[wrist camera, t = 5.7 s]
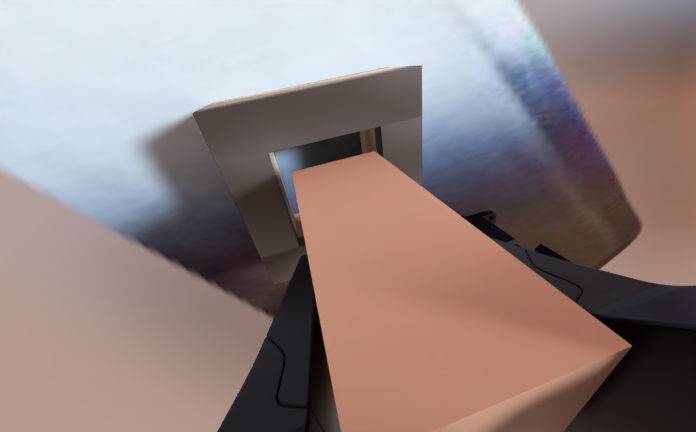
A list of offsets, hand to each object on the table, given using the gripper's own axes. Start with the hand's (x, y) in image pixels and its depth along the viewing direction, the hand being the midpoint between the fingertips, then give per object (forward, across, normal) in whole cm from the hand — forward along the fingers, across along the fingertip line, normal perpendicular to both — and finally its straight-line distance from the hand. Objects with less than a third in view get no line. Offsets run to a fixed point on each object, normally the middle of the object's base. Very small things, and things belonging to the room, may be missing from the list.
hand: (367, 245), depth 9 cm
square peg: (+4, 0, 0) cm, 4 cm away
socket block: (+9, 0, 0) cm, 9 cm away
